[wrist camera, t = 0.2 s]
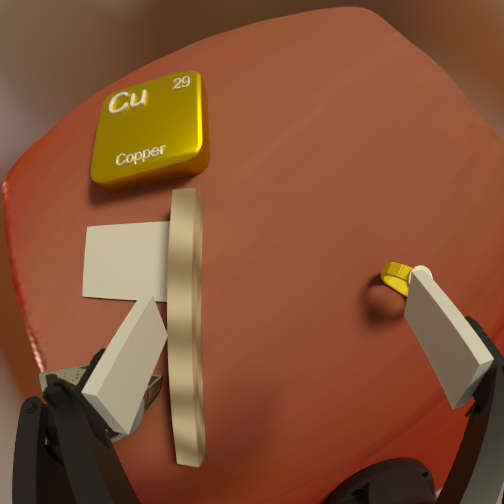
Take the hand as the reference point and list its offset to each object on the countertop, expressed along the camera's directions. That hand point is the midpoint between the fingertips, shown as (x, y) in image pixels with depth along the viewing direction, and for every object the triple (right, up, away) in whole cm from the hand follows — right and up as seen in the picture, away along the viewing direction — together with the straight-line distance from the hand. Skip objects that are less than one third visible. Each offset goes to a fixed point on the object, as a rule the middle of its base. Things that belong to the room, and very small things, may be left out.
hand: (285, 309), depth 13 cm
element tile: (-15, +18, +21) cm, 31 cm away
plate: (-16, +2, +18) cm, 24 cm away
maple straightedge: (-8, -6, +16) cm, 19 cm away
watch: (+14, -1, +15) cm, 21 cm away
